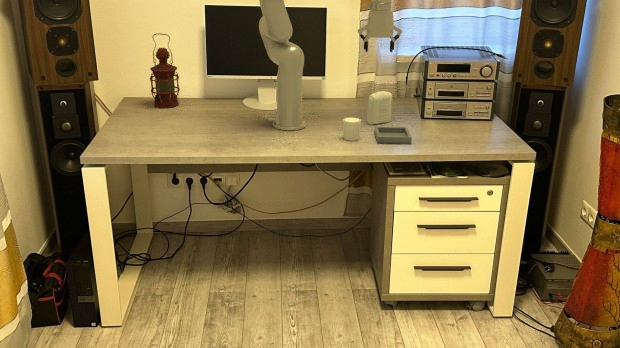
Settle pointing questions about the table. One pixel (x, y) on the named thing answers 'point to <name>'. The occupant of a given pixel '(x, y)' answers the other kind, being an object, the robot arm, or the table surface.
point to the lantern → (164, 79)
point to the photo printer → (379, 107)
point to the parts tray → (392, 135)
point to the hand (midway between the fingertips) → (378, 51)
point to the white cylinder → (351, 128)
